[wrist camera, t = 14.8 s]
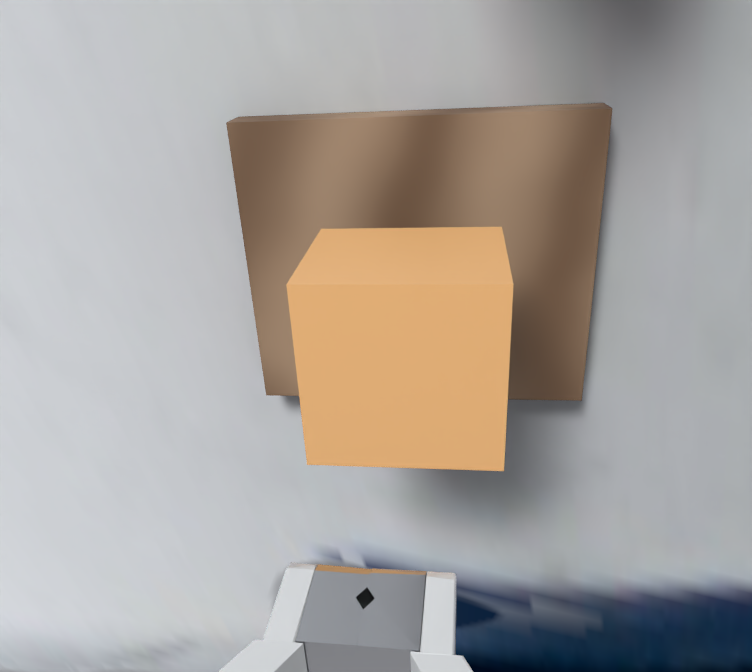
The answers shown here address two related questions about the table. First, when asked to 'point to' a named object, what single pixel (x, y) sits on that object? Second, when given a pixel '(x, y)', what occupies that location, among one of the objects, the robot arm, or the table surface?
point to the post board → (434, 213)
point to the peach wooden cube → (404, 347)
